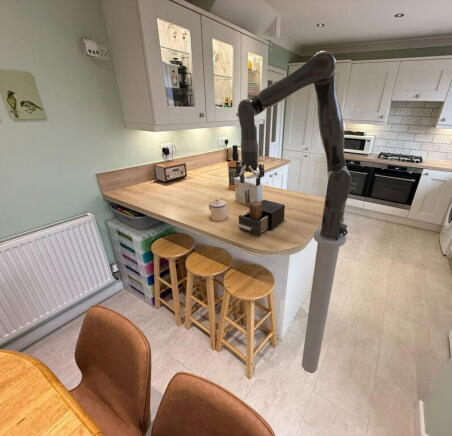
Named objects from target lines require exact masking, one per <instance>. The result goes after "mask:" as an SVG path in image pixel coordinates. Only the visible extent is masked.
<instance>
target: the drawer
mask: <svg viewBox="0 0 452 436" xmlns="http://www.w3.org/2000/svg"><path fill="white" fill-rule="evenodd" d="M270 216H271V215H270V214H267V213H263V212H262V219H261V220H260V221H257V220H254V219H250V210H249V211H248V212H246V213H244V214H242V215H238V224H237V227H238V230H239V231H240V232H244V233H247V234H249V235H252V236H255V237H259V238H260V237H261V235H262V234H263V233H265V232H266V230H269V229H268V228H270Z"/></svg>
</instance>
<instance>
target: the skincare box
mask: <svg viewBox="0 0 452 436" xmlns="http://www.w3.org/2000/svg"><path fill="white" fill-rule="evenodd" d="M244 180H245V182H244V183H241V182H240V176H239V177H236V178H234V182H235V190H234V194H235V195H234V196H235V201H236V202H239V203H241V204H244V205H246V206H248V207H250V205H249V204H250V203H252V202H254V201H258V202H260V201H262V200H263V198H264V197H263V183H262V182H260V185H259V186H256V180H252V179H249V178H246V177H244Z"/></svg>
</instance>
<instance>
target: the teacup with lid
mask: <svg viewBox="0 0 452 436" xmlns="http://www.w3.org/2000/svg"><path fill="white" fill-rule="evenodd" d="M208 209H209V211H210V217H211V220H213V221H214V222H221V221H224V220H226V219H227V217H228V216H227V215H228V214H227V202H226V201H225V200H224V199H223V200H221V199H220V198H219V197H218V198H215V200H212V201H211V202H210V203H209V204H208Z"/></svg>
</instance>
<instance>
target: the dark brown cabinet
mask: <svg viewBox="0 0 452 436" xmlns="http://www.w3.org/2000/svg"><path fill="white" fill-rule="evenodd" d="M260 202H262V212H263V213H267V214H270V215H271V216H270V228H268V229H267V230H269V231H273V230H274V229H275V228H276V227H278V226H279V225H280V224H282V223H283V222H284V221H285V213H286V211H285V210H286V204H283V203H279V202H275V201H272V200H268V199H262V201H260Z"/></svg>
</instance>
